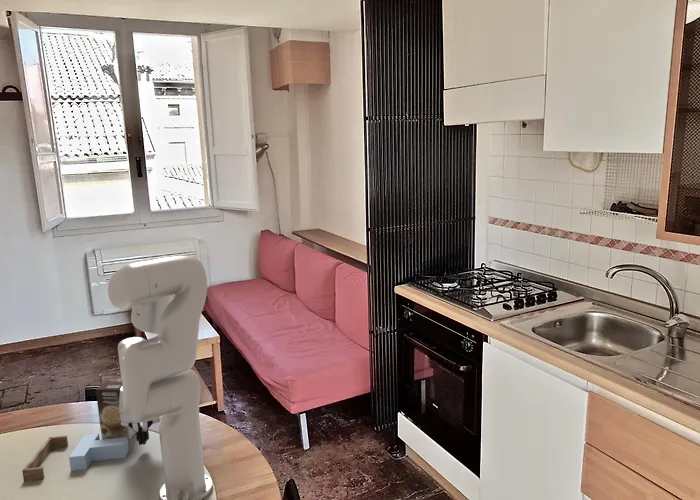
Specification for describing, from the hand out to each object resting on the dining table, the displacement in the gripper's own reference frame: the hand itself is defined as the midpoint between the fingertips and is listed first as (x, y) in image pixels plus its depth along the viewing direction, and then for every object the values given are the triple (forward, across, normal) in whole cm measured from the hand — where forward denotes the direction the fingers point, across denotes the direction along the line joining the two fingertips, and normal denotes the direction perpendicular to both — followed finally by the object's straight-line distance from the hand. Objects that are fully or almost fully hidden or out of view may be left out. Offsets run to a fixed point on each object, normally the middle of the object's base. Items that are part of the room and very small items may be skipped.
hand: (143, 442), depth 157 cm
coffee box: (+3, +10, -11) cm, 15 cm away
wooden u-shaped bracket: (+3, +26, +1) cm, 26 cm away
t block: (+3, +11, +1) cm, 11 cm away
